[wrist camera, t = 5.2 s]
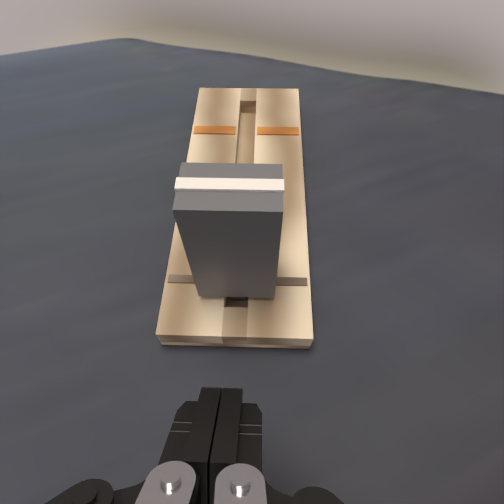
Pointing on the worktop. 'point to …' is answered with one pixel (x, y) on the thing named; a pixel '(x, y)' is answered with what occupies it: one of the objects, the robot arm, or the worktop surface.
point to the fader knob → (231, 226)
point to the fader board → (292, 235)
